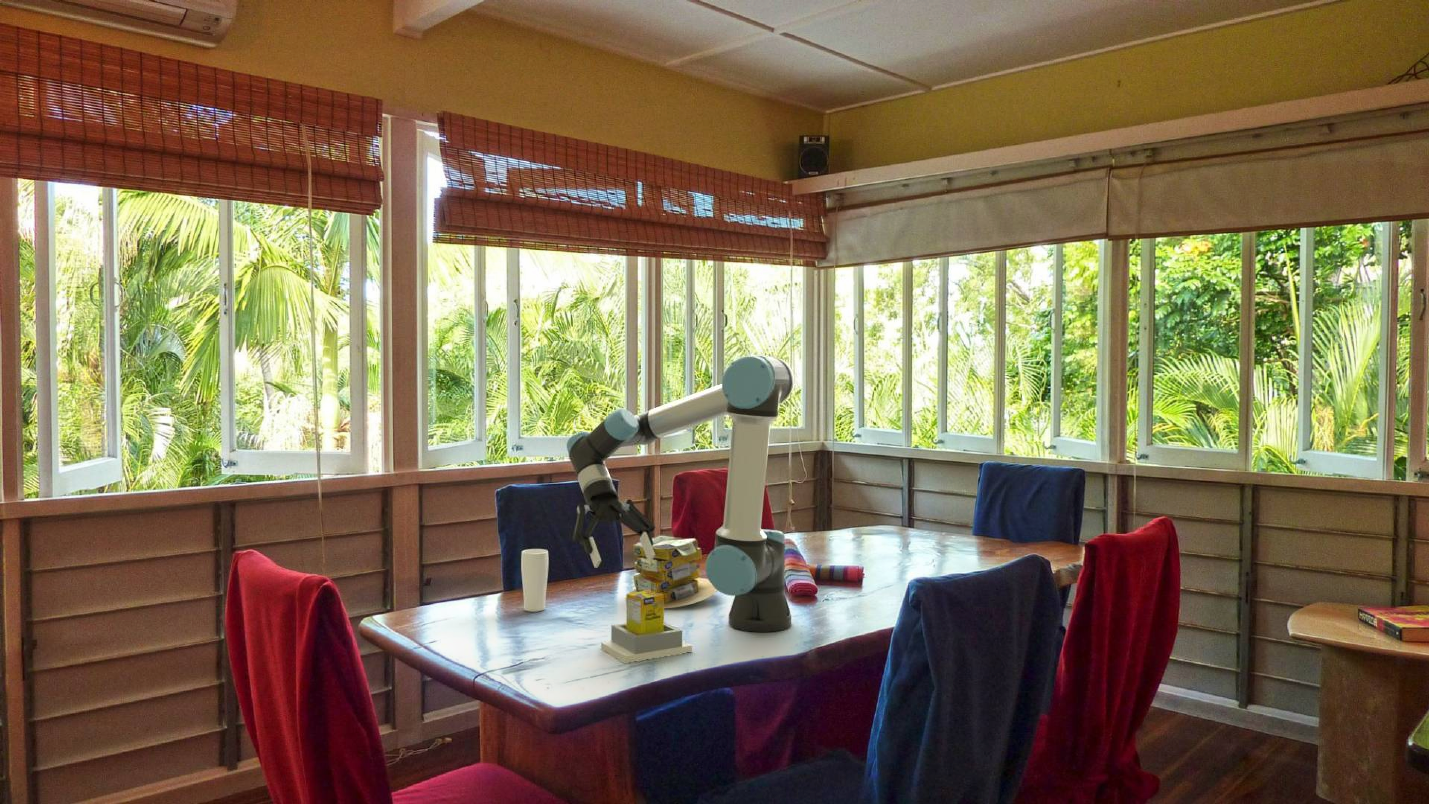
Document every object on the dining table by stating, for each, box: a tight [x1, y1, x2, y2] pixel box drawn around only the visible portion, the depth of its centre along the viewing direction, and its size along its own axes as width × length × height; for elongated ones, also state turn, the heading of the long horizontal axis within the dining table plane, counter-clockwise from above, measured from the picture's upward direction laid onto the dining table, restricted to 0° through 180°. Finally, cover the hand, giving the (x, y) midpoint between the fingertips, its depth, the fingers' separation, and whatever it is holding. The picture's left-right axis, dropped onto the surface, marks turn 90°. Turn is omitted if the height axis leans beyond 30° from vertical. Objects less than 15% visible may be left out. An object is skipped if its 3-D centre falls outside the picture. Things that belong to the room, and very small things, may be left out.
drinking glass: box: [520, 548, 549, 613], centre depth 242 cm, size 7×7×15 cm
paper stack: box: [625, 534, 719, 609], centre depth 256 cm, size 25×25×17 cm
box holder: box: [600, 621, 693, 664], centre depth 208 cm, size 16×12×5 cm
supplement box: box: [626, 590, 665, 636], centre depth 207 cm, size 6×6×11 cm
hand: (625, 561), depth 216 cm, fingers open, 13 cm apart
